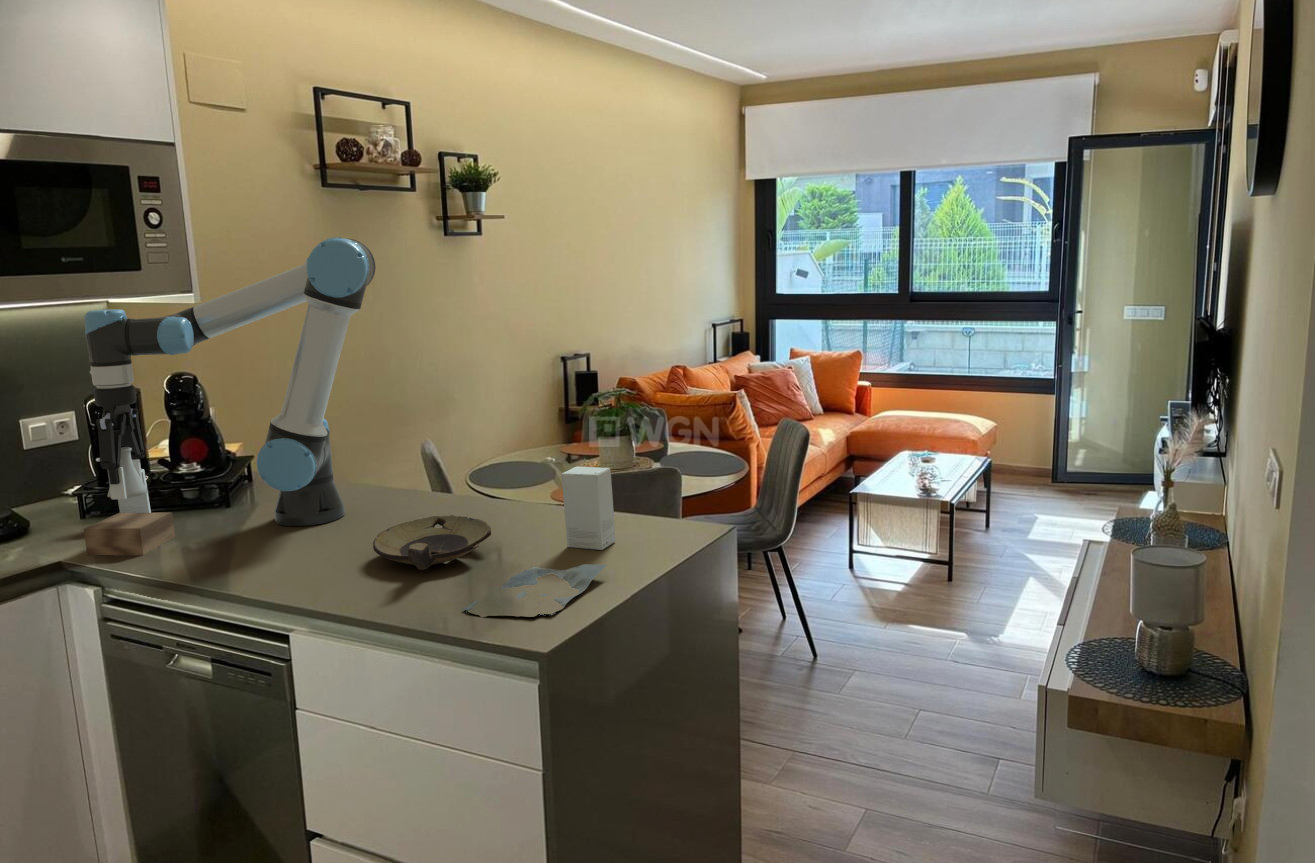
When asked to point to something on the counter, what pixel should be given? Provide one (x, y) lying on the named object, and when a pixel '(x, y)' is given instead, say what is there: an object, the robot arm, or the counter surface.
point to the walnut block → (129, 533)
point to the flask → (130, 475)
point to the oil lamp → (431, 540)
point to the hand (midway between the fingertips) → (127, 493)
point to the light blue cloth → (574, 576)
